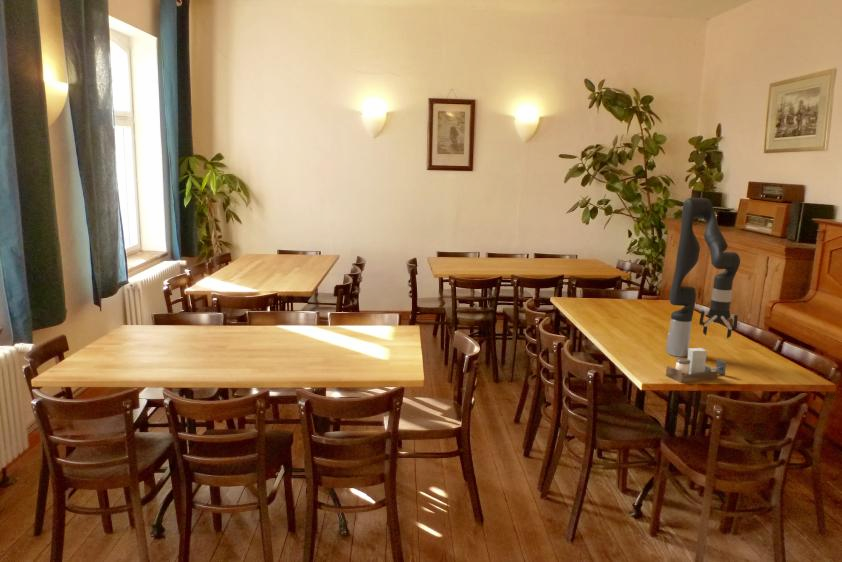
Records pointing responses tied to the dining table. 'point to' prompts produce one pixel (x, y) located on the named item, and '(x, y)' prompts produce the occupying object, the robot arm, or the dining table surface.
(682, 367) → the stoneware jar
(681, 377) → the grey brown tray
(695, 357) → the skincare box
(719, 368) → the pusher
